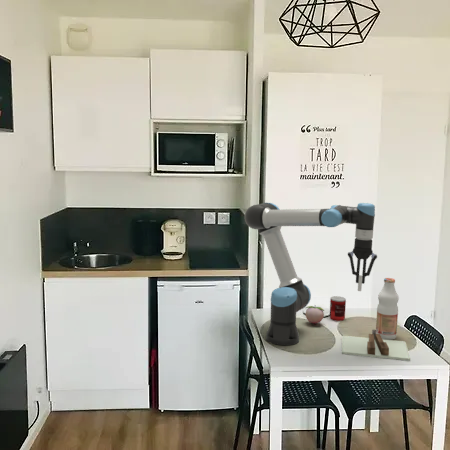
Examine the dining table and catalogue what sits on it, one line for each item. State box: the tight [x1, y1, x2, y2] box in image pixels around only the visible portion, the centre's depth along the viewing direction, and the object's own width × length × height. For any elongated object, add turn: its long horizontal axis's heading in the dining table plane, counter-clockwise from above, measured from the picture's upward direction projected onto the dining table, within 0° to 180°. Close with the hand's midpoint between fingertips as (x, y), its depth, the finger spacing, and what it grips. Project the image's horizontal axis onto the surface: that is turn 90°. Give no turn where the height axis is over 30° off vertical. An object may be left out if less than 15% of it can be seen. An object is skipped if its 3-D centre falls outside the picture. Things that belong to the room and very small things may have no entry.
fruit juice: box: [375, 277, 400, 340], centre depth 243 cm, size 9×9×28 cm
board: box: [341, 335, 411, 362], centre depth 230 cm, size 28×20×1 cm
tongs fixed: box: [367, 329, 376, 355], centre depth 230 cm, size 4×20×4 cm, turn 167°
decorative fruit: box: [304, 305, 325, 325], centre depth 260 cm, size 9×8×10 cm
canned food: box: [329, 295, 347, 322], centre depth 269 cm, size 8×8×11 cm
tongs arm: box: [375, 334, 389, 355], centre depth 228 cm, size 3×17×3 cm, turn 173°
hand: (359, 290), depth 232 cm, fingers closed
